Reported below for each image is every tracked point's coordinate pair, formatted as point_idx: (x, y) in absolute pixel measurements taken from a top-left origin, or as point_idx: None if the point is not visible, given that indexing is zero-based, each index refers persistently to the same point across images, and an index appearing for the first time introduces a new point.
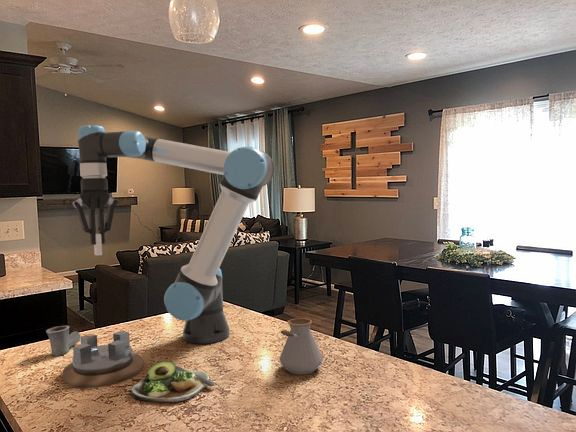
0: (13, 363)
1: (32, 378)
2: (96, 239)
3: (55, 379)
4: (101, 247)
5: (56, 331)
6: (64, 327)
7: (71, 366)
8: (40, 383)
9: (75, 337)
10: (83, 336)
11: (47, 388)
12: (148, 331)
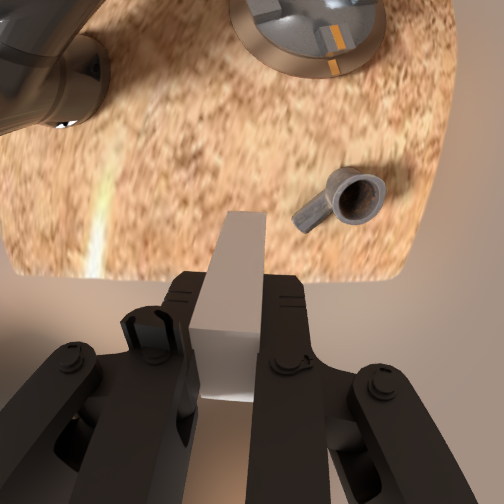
0: (416, 195)
1: (416, 88)
2: (259, 286)
3: (389, 49)
4: (221, 238)
5: (371, 176)
6: (340, 208)
7: (364, 47)
8: (411, 54)
9: (306, 208)
10: (349, 43)
11: (406, 24)
12: (146, 191)
